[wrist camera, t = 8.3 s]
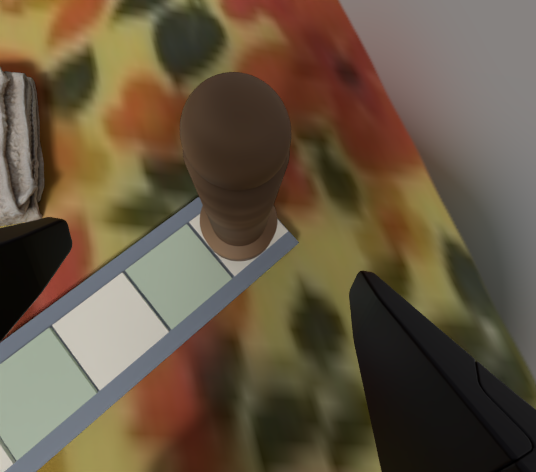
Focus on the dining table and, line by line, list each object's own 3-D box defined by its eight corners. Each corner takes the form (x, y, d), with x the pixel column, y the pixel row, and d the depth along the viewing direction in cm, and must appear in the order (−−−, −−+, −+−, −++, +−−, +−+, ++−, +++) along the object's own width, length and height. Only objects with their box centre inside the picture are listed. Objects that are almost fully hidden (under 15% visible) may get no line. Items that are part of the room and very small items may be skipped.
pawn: (234, 276, 17) (219, 236, 6) (189, 221, 18) (85, 76, 6) (288, 231, 19) (373, 114, 7) (243, 180, 19) (248, -14, 7)
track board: (-49, 545, 14) (-71, 564, 13) (-117, 435, 15) (-142, 445, 14) (296, 244, 19) (299, 242, 18) (235, 175, 20) (234, 168, 19)
